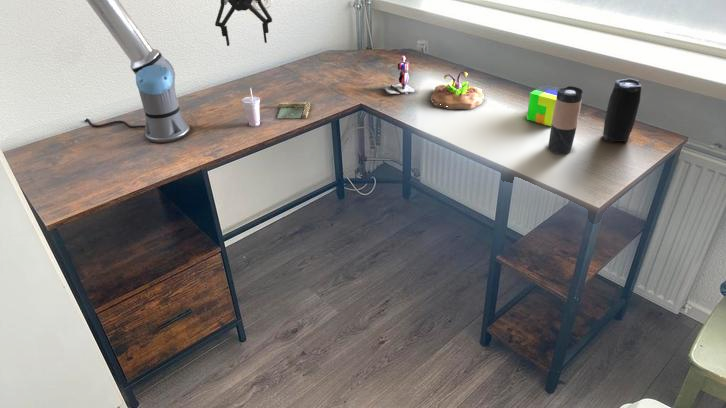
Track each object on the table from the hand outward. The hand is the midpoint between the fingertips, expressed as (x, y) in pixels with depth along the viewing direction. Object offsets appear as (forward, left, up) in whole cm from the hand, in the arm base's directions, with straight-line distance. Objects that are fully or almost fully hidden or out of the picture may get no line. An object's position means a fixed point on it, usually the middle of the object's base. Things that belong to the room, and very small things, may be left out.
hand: (247, 43), depth 203 cm
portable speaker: (+128, -31, -25) cm, 134 cm away
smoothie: (+3, -17, -25) cm, 30 cm away
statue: (+56, +12, -25) cm, 62 cm away
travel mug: (+108, -38, -25) cm, 117 cm away
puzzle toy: (+109, -15, -25) cm, 112 cm away
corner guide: (+15, -7, -25) cm, 30 cm away
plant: (+79, +3, -25) cm, 83 cm away
